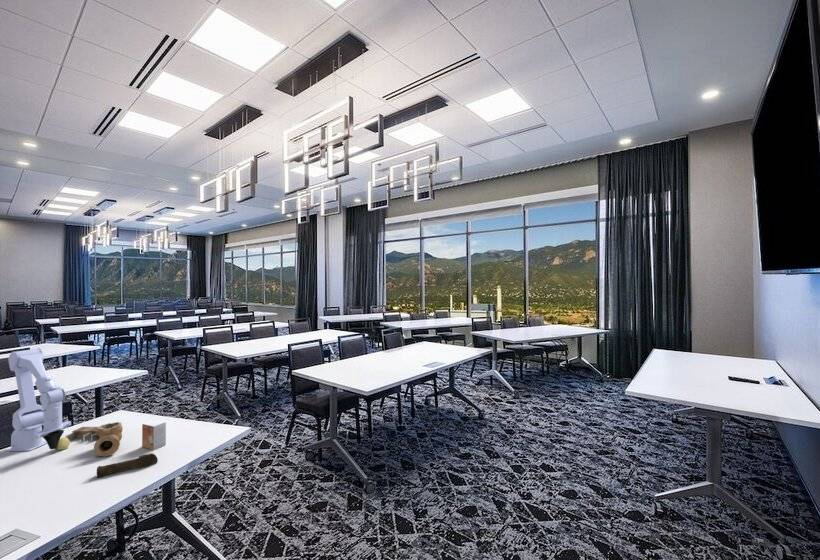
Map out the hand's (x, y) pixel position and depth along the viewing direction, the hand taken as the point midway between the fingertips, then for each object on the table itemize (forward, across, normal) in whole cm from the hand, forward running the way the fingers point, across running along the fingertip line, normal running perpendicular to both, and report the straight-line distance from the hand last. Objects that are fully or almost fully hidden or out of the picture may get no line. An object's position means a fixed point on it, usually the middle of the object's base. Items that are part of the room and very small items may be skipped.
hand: (53, 448), depth 156 cm
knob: (+2, +3, 0) cm, 4 cm away
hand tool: (+2, -14, -44) cm, 46 cm away
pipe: (+2, +2, -22) cm, 23 cm away
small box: (+2, +6, -40) cm, 40 cm away
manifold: (+2, +15, -4) cm, 15 cm away
